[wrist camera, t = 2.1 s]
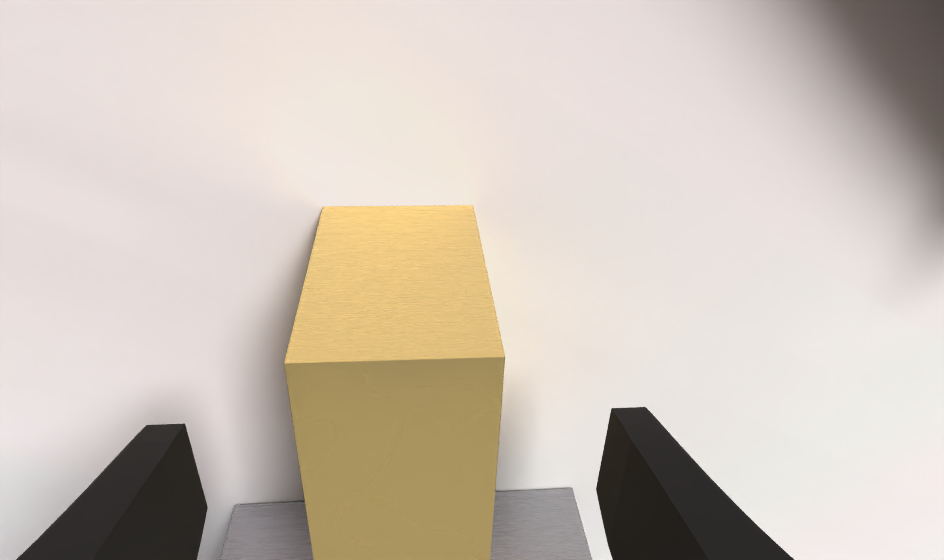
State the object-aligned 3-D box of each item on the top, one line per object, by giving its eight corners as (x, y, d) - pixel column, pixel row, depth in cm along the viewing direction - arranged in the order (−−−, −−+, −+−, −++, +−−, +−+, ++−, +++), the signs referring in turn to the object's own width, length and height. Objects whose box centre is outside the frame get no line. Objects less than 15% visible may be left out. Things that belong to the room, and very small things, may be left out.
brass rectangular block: (464, 421, 16) (485, 610, 12) (344, 426, 16) (323, 621, 12) (472, 204, 13) (505, 356, 9) (323, 205, 13) (283, 364, 9)
